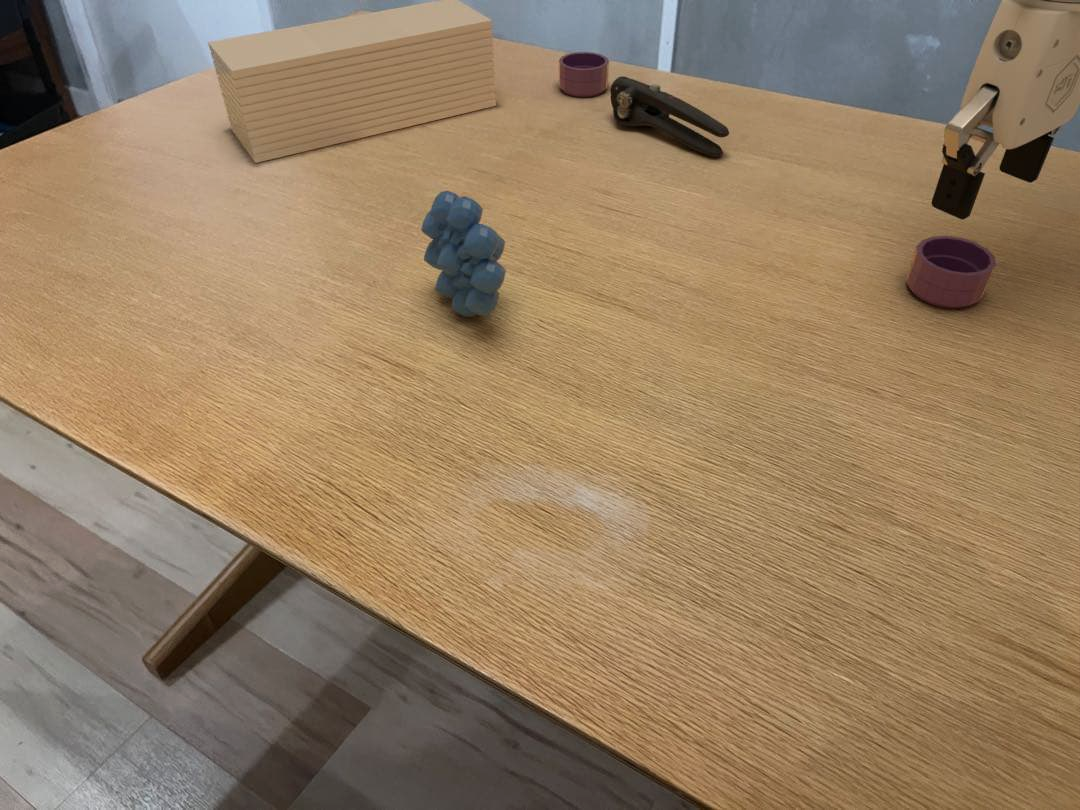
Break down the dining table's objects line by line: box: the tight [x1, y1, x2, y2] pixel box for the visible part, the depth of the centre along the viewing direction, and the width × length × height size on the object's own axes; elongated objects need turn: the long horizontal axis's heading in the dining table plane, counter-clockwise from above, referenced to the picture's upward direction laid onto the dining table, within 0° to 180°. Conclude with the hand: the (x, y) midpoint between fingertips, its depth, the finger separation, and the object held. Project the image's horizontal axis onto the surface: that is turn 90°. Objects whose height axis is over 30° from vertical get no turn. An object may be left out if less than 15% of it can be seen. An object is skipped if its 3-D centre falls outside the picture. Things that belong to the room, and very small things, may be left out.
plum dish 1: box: [558, 51, 610, 98], centre depth 111 cm, size 7×7×4 cm
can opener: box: [609, 76, 730, 158], centre depth 99 cm, size 18×7×6 cm, turn 41°
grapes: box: [421, 190, 507, 318], centre depth 70 cm, size 12×7×12 cm, turn 34°
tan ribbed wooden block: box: [207, 0, 497, 164], centre depth 102 cm, size 32×11×11 cm, turn 120°
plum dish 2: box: [905, 235, 997, 309], centre depth 74 cm, size 7×7×4 cm
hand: (984, 193), depth 69 cm, fingers open, 9 cm apart
